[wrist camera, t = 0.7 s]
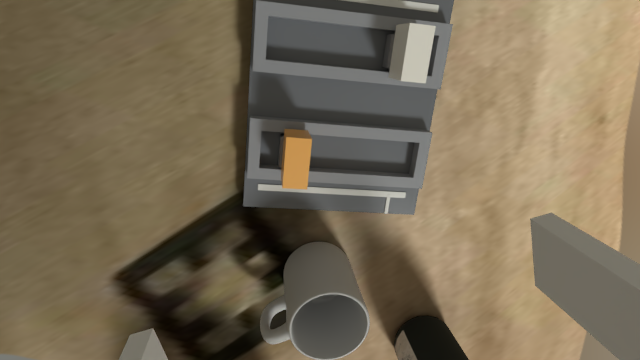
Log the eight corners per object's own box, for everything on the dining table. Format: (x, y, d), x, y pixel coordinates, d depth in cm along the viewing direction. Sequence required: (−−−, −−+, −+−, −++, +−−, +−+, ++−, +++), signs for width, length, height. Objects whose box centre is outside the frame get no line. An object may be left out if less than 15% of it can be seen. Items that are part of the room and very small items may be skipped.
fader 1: (277, 170, 45) (279, 188, 39) (280, 125, 43) (283, 136, 38) (304, 172, 45) (310, 189, 40) (309, 127, 44) (315, 139, 38)
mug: (334, 229, 50) (351, 277, 40) (360, 282, 53) (382, 340, 43) (246, 270, 51) (241, 328, 40) (276, 321, 54) (279, 387, 43)
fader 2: (380, 75, 43) (397, 80, 38) (388, 25, 42) (406, 22, 36) (408, 78, 43) (428, 83, 38) (416, 28, 42) (438, 26, 37)
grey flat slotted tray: (244, 199, 48) (242, 211, 44) (256, -51, 40) (255, -59, 37) (408, 208, 51) (418, 219, 47) (450, -23, 43) (465, -29, 40)
